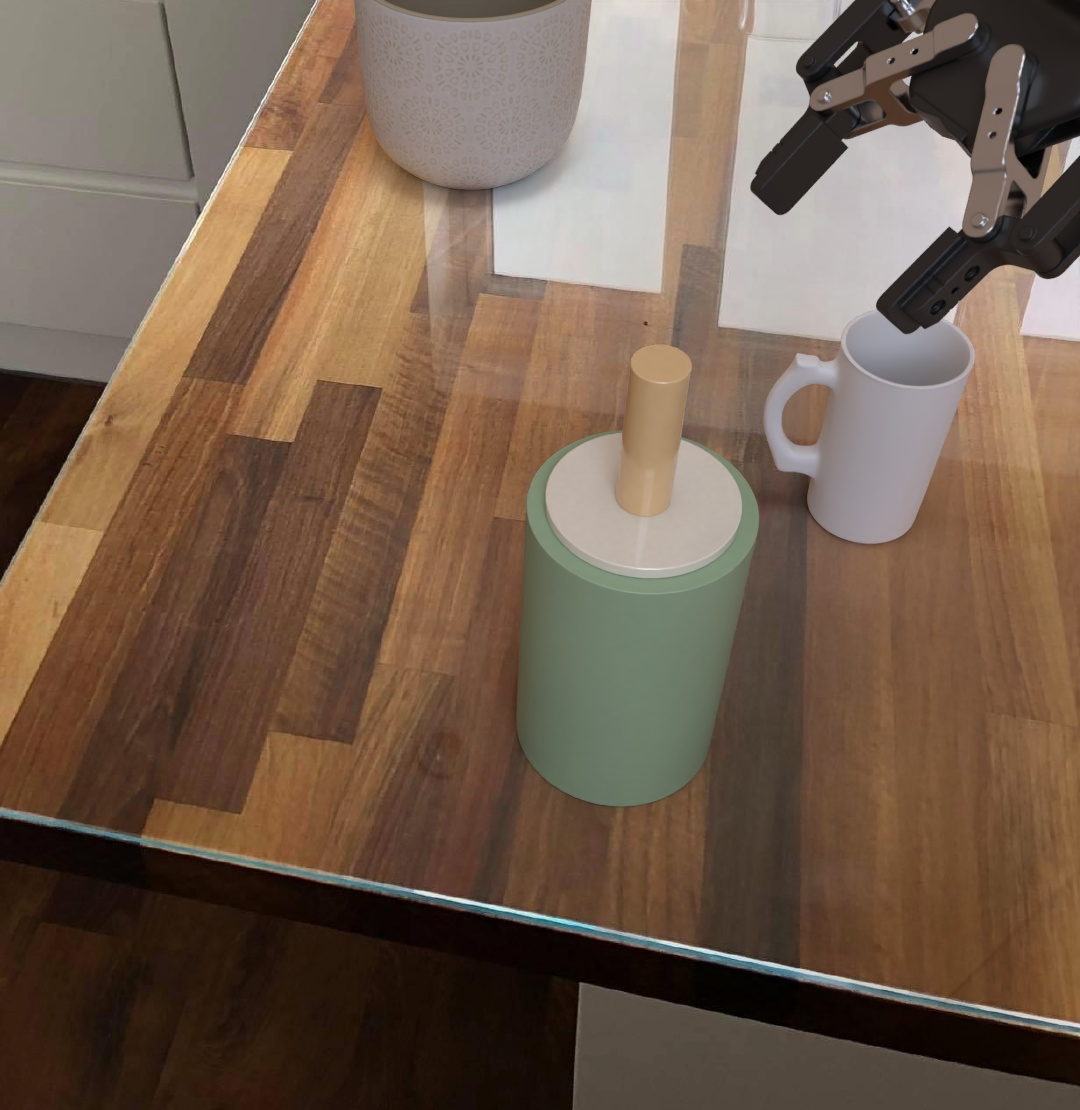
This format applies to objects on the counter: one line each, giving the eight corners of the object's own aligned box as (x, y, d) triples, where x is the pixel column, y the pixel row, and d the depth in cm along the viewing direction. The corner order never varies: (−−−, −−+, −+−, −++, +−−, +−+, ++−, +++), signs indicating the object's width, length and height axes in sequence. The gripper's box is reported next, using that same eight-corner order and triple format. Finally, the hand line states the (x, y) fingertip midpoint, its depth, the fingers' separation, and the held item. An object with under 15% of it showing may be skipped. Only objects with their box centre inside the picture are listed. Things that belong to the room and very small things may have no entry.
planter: (551, 88, 116) (561, -99, 105) (606, 202, 104) (623, 5, 93) (349, 112, 114) (336, -75, 103) (381, 230, 103) (371, 33, 92)
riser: (751, 733, 72) (808, 515, 60) (611, 843, 67) (643, 632, 56) (613, 619, 77) (640, 399, 65) (476, 714, 73) (478, 497, 61)
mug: (913, 471, 84) (966, 311, 75) (926, 553, 80) (983, 392, 71) (743, 459, 85) (775, 300, 76) (746, 539, 81) (781, 379, 72)
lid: (781, 514, 60) (816, 369, 54) (643, 611, 56) (663, 468, 51) (641, 415, 64) (658, 272, 59) (504, 499, 61) (509, 356, 55)
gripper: (991, -233, 50) (678, 126, 56) (1305, -83, 41) (893, 327, 47) (1064, -109, 56) (770, 208, 61) (1356, 48, 47) (980, 403, 52)
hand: (824, 259), depth 54 cm, fingers open, 8 cm apart
